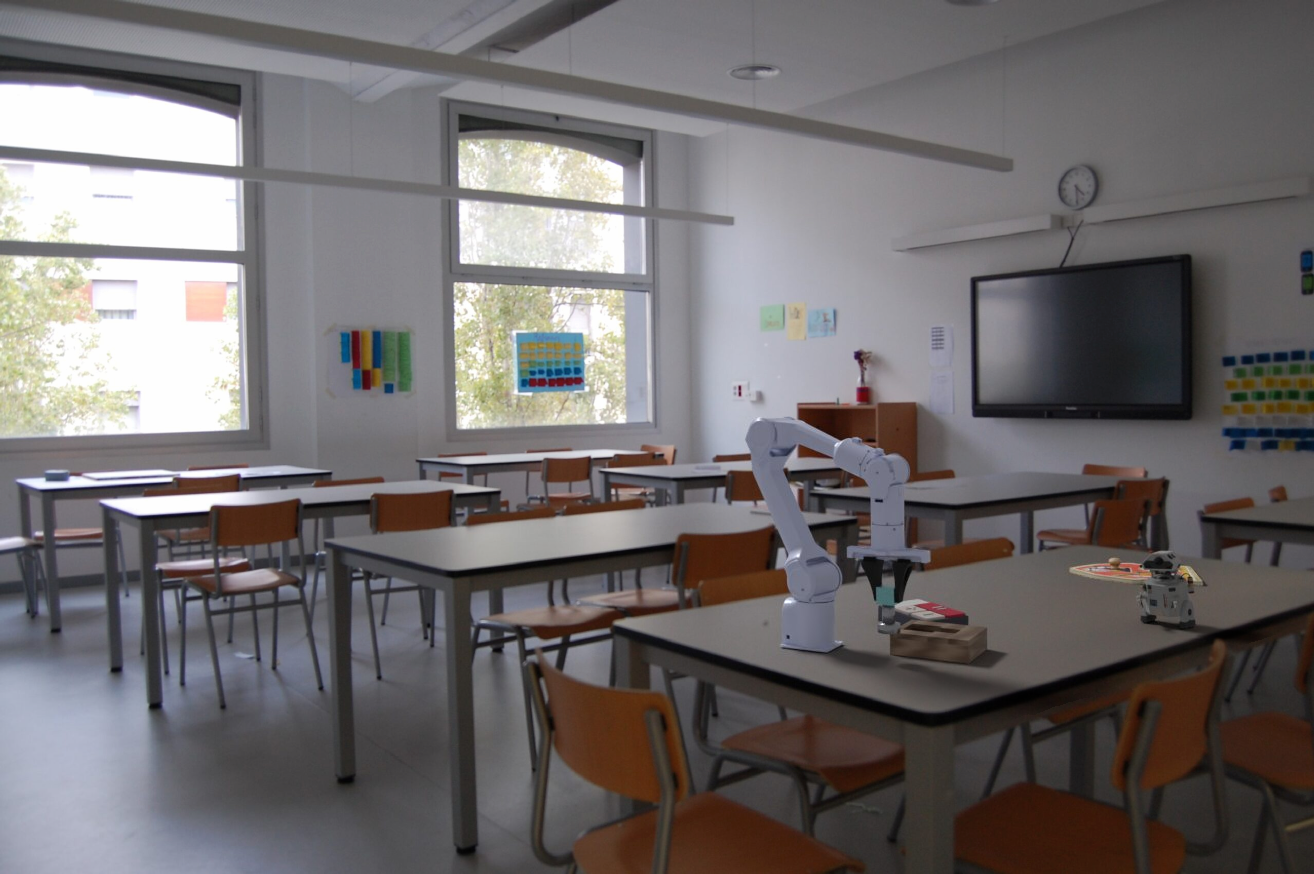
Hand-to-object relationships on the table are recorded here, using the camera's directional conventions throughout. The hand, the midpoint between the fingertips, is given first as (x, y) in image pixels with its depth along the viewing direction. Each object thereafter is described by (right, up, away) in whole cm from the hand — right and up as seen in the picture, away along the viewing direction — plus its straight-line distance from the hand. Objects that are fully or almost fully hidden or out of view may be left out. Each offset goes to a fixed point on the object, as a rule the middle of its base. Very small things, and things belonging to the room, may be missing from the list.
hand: (888, 601), depth 178 cm
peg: (0, -5, 0) cm, 5 cm away
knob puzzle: (+81, -7, +83) cm, 116 cm away
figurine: (+59, -9, +23) cm, 64 cm away
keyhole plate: (+10, -10, +6) cm, 16 cm away
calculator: (+13, -10, +28) cm, 33 cm away
